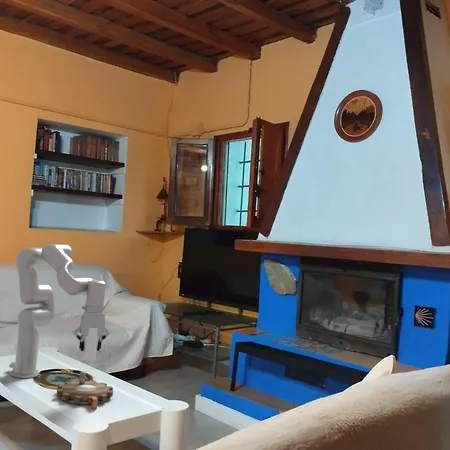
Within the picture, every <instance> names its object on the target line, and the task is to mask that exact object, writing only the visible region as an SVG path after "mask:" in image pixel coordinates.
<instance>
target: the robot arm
mask: <svg viewBox="0 0 450 450" xmlns="http://www.w3.org/2000/svg"><path fill="white" fill-rule="evenodd" d="M72 258H73V250H72V248H71V246H69V245H67V244H65V243H63V244H61V243H49V244H45V245H44V246H43V247H36V246H35V247H26V248H23V249H21V250H20V251H19V252H18V254H17V256H16V259H15V263H16V269H17V272H18V283H19V286H18V287H19V298H20V301H21V304H23V305H26V306H27V305H28V306H29V305H38V306H33V307H32V306H31V307H27V308H23V309H21V310H20V311H19V312H18V314H17V326H18V328H17V329H18V330H17V331H18V332H17V333H18V334H17V342H16V353H15V362H14V361H12V362H11V363H10V364H8V367H9V368H10V369H11V368H12V370H11V371H10V376H12V377H14V378H16V379H32V378H36V377H38V376H39V374H40V372H39V370H37V361H38V355H39V345H40V334H39V332H38V329H37V328H43V327H48V326H51V325H52V324H53V323H54V321H55V316H56V315H55V314H56V313H55V311H56V310H55V297H54V291H53V288H52V287H51V286H50V285H49V284H45V283H40V282H39V275H38V273H37V270H36V269H35V267H34V266H50V267H51V268H52V269H53V270H54V271H55V272H56V279H57V280H56V281H57V283H58V285H59V286H60V288H61V289H62V290H63V291H64V292H65V293H66V294H68V295H70V296H73V297H75V296H86V301H85V304H84V305H82V306H81V309H82V310H84V311H83V313H82V315H81V318H80V319H81V320H80V326H78V327H77V328H76V329H75V330H73V331H72V334H73V335H74V336H75V338H77V339H78V340H79V345H78V348H79V350H80V351H81V352H83V349H84V342H83V341H84V338H85V336H89V328H98V334H97V336H99V341H98V346H97V351H96V352H99V351H100V349H101V348H102V343H103V342H104V340H105V339H106V338H107V337H108V336H110V334H111V333H110V331H109V330H108V329H107V328H106V314H105V312H104V304H105V295H106V294H105V293H106V288H107V287H106V282H105V281H103V280H97V279H94V278H91V277H73V275H72V274H70V272H71V271H72V270H73V269H74V266H75V264H74V261H73V260H72ZM79 333H80V334H81V335H79Z"/></svg>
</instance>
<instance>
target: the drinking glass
mask: <svg viewBox="0 0 450 450" xmlns="http://www.w3.org/2000/svg"><path fill="white" fill-rule="evenodd" d="M97 334H98V328H89V336H85V338H84V341H83V342H84V349H83V351H82V360H83V362H86V363H92V362H93V363H94V362H95V361H96V355H97V352H98V351H97V346H98V341H99V336H97Z"/></svg>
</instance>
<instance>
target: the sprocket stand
mask: <svg viewBox="0 0 450 450" xmlns="http://www.w3.org/2000/svg"><path fill="white" fill-rule="evenodd" d="M57 397H58V399H59V400H61V401H62V402H64V403H66V404H70V405H76V406H89V407H90V408H91V410H97V408H98V405H101V404H104V403H106V402H108V401H110V400H111V398H112V397H107V400H105V401H101V400H98V398H97V397H91V403H89V402H88V401H81V402H80V403H78V402H74V400H71V399H68V400H64V399H62V396H58V395H57Z"/></svg>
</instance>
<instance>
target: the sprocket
mask: <svg viewBox="0 0 450 450" xmlns="http://www.w3.org/2000/svg"><path fill="white" fill-rule="evenodd" d="M86 375H87V372H86V371H80V372H79V379H78V380H76V381H66V382H64V384H58V385H57V389H56V396H57V397H58V396H62V399H64V400H68V399H71V400H74V402H78V403H80V402H81V401H88V402H89V403H91V397H97V398H98V400H101V401H105V400H107V397H111V398H112V397H113V396H114V387H113V386H108V383H106V382H101V383H100V382H97V381H96V380H89V381H88V380H87V381H86Z"/></svg>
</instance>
